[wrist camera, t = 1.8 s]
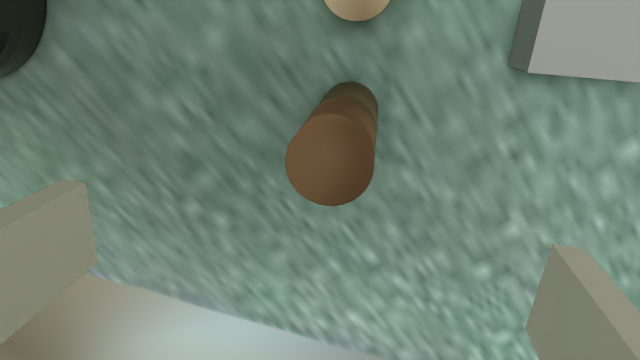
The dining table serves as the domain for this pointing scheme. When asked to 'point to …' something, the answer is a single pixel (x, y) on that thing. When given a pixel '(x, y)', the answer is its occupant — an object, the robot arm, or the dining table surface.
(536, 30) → the hole board
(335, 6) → the short pin
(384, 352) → the dining table surface
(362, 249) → the dining table surface
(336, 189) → the long pin
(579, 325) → the robot arm
